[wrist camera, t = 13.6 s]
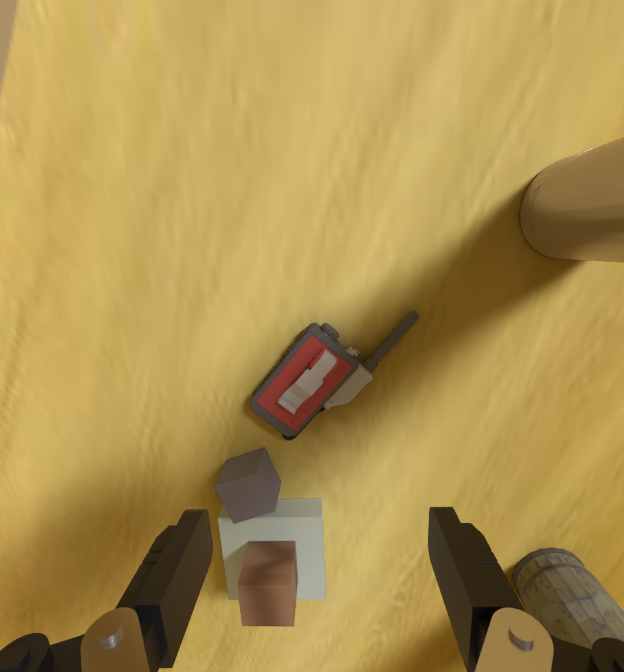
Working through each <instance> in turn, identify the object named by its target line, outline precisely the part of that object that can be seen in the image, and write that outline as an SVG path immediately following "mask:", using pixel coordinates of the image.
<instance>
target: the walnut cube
mask: <svg viewBox="0 0 624 672" xmlns="http://www.w3.org/2000/svg"><path fill="white" fill-rule="evenodd" d="M297 585H298V571H297V556H296V541H249V542H248V546H247V549H246V553H245V557H244V561H243V565H242V568H241V572H240V576H239V580H238V584H237V587H238V595H239V603H240V612H241V620H242V626H294V620H295V608H296V596H297Z"/></svg>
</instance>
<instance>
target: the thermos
mask: <svg viewBox="0 0 624 672" xmlns="http://www.w3.org/2000/svg"><path fill="white" fill-rule="evenodd" d="M513 584H514V586H515V588H516V590H517V592H518V594H519V596H520V597H521V598H522V600H523V605H524V607H525V609H526V611H527V613H528V614H529V615H531V616H532V617H533V618H535V619H536V620H537V621H538V622H539V623H541V625H542V626H543V627H544V628H545V629H546V631H547V632H548V633H549V634H550V635H552V636H554V637H556V638H559V639H561V640H564V641H567V642H570V643H574V644H577V645H580V646H583V647H586V648H589V649H592V646H593V643H594V642H595V641H596V640H597V639H599V638H603V637H609V638H615V639H619V640H621V641H624V612H623V611H622V609H621V608H620V607H619V606H618V604H617V603H616V602H615V601H614V599H613V598H612V597H611V596H610V594H609V593H608V592H607V591H606V590H605V588H604V587H603V586H602V585H601V583H600V582H599V581H598V580H597V578H595V577H594V576H593V575H592V574H591V573H590V572H589V571H587V569H586V568H585V567H584V565H583V563H582V562H581V561H580V560H579V559H578V558H577V557H576V556H575V555H574V554H573V553H571V552H569V551H566V550H564V549H558V548H547V549H540V550H538V551H535V552H532V553H530V554H529V555H527V556H526V557H524V558H523V559H522V560H521V561H520V562H519V563H518V565H517V566H516V567H515V570H514V573H513Z"/></svg>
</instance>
